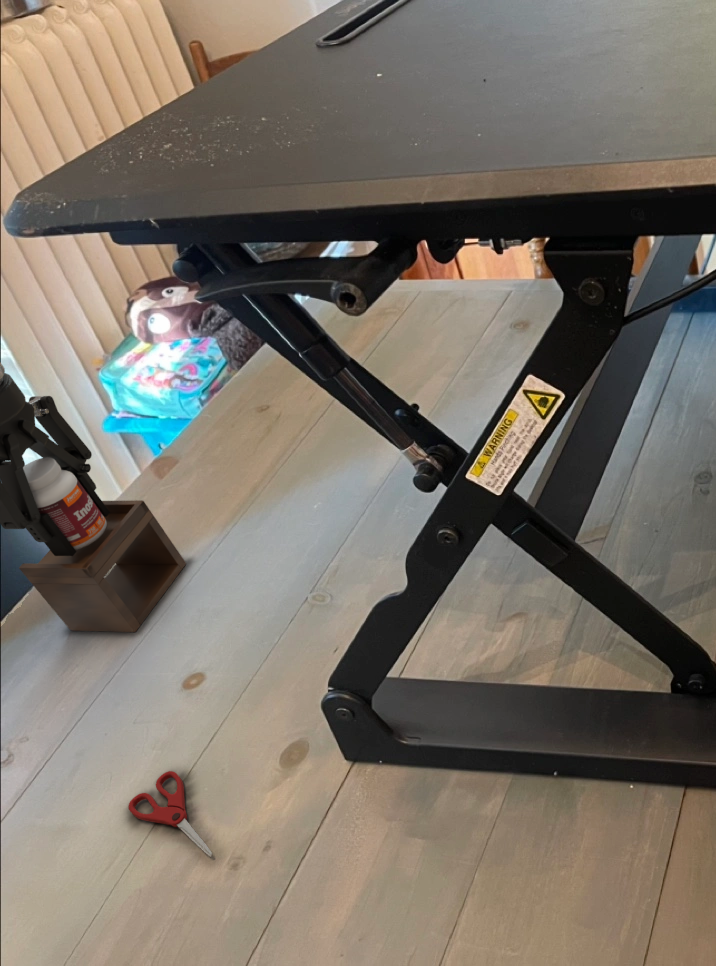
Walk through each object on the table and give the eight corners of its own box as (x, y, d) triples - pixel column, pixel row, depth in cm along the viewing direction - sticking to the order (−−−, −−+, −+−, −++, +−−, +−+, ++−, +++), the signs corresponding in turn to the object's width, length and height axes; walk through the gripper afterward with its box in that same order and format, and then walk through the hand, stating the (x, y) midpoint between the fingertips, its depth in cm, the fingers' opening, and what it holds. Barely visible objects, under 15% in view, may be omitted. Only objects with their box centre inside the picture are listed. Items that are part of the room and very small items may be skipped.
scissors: (174, 771, 116) (169, 766, 116) (237, 837, 108) (233, 832, 108) (128, 809, 113) (123, 803, 113) (189, 879, 105) (185, 874, 105)
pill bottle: (104, 543, 132) (55, 478, 125) (53, 559, 131) (1, 493, 124) (112, 512, 137) (66, 447, 130) (63, 526, 136) (14, 462, 129)
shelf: (70, 630, 137) (18, 567, 130) (124, 562, 146) (79, 500, 139) (135, 632, 135) (86, 568, 128) (186, 563, 144) (143, 500, 137)
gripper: (-62, 442, 111) (59, 591, 125) (55, 338, 126) (151, 482, 140) (-118, 444, 113) (7, 590, 127) (3, 340, 128) (103, 482, 142)
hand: (82, 533), depth 134 cm, fingers closed on pill bottle, 6 cm apart
